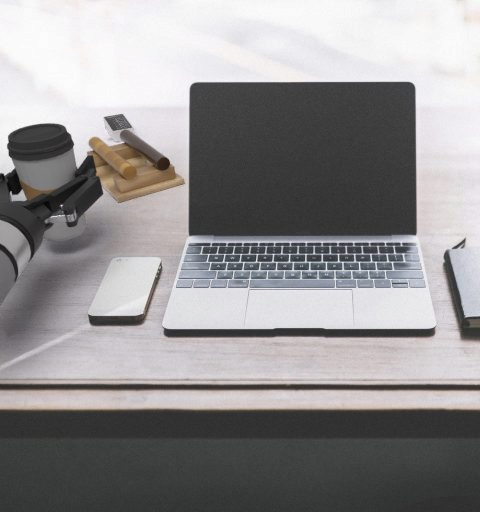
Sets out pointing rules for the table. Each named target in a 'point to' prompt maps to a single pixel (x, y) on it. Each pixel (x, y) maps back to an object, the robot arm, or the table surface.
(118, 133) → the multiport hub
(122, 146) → the rod rack
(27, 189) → the coffee cup
